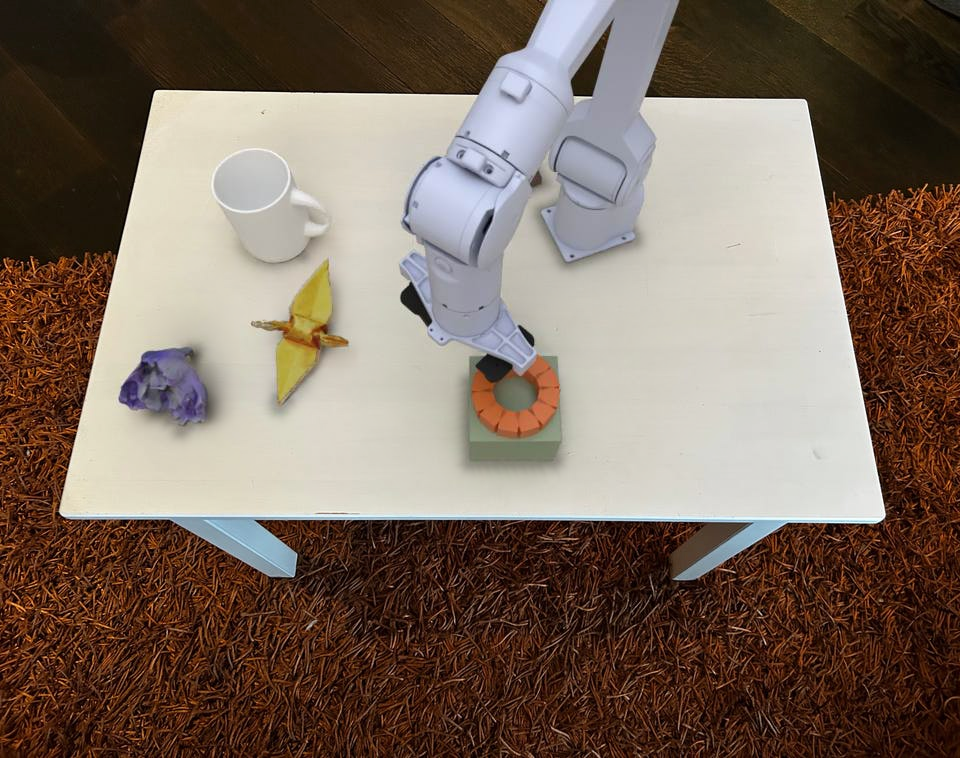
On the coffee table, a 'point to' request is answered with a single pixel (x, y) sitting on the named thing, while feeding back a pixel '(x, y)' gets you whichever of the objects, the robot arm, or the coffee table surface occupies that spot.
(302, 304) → the origami crane
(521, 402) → the block
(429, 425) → the coffee table surface
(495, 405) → the ring
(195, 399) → the purple lumpy chunk
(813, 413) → the coffee table surface
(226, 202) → the mug
